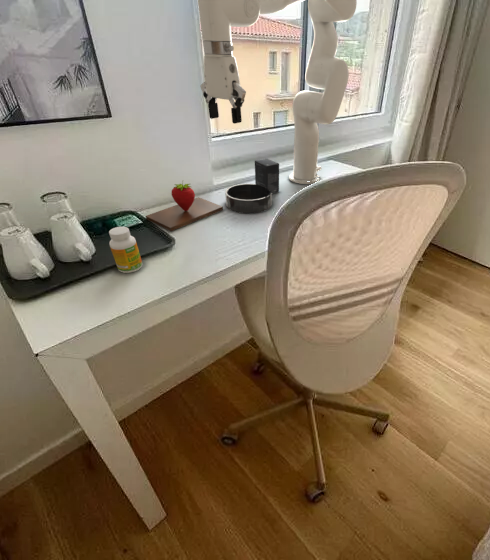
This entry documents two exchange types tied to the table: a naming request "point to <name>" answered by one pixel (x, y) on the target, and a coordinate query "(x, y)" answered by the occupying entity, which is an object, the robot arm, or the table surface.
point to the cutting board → (184, 214)
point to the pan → (248, 198)
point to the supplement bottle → (124, 250)
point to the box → (267, 174)
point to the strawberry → (183, 196)
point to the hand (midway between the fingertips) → (225, 120)
